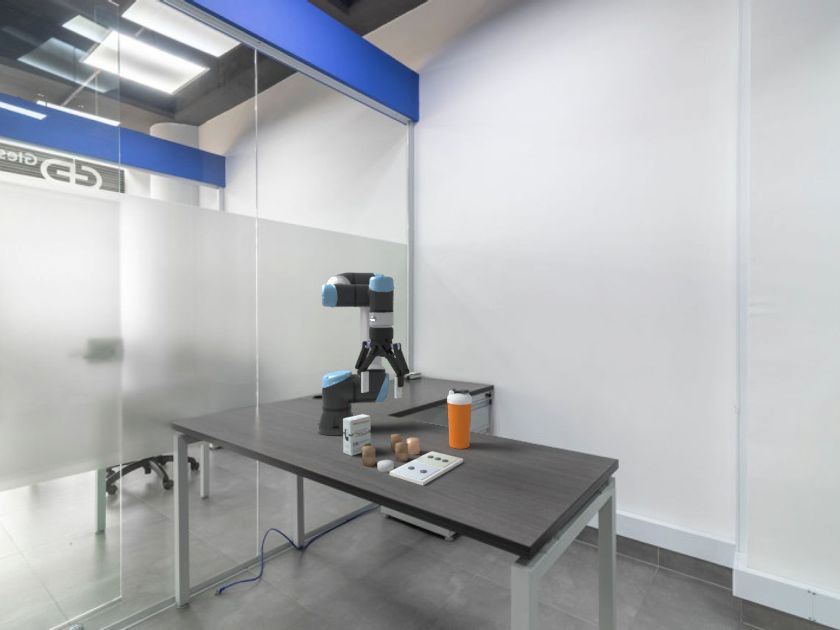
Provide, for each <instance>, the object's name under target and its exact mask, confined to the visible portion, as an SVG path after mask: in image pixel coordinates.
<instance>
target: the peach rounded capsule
mask: <svg viewBox="0 0 840 630" xmlns="http://www.w3.org/2000/svg"><path fill="white" fill-rule="evenodd" d="M420 442H421V440H420V438H418V437H415V436H414V437H408V438H406V443H407V444H408V455H409V454H410V455H411V456H416V455H419V454H420V449H421V448H420V446H421V445H420V444H421V443H420ZM410 455H409V456H410Z"/></svg>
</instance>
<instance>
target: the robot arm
mask: <svg viewBox="0 0 840 630" xmlns="http://www.w3.org/2000/svg"><path fill="white" fill-rule="evenodd" d="M394 282H395V281H394V278H393V277H391V276H385V275H384V274H383V273H381V272H380V273H377V272H352V271H351V272H350V271H348V272H347V271H346V272H342V273H339V274H336V275H333V276H332V277H331V278H329V280H328V281H327V283H324V284H322V286H321V305H322V306H323V307H326V308H359V309H360V310H359V314H360V315H359V316H360V319H359V320H360V321H359V323H360V324H359V325H360V326H359V327H360V329H359V330H360V352H359V355H358V358H357V360H356V362H355V365H354V369H355V370H356V373H353V372H352V370H338V371H337V370H336V371H332V372H328V373H326V374H324V375H323V377H322V380H321V381H322V382H321V414H320V417H319V418H320V419H319V421H318V423H317V430H316V431H317V433H318V434H321V435H325V436H343V419H344V418H348V417H352V416H354V413H353V410H352V404H372V403H373V404H376V403H383V402H385V401H386V400H387V398H388V395H389V394H388V393H389V391H390V390H389V389H390V374H389V373H387V372H386V368H385V367H384V366H383V363H382V358H385V359H386V360H387V362H388V363H389V365H390V367H391V368H392V369H393V372H394V373H395V376H394V399H400V398H402V397H403V387H404V386H405V384H404V383H405V376H406V375H409V374H410V373H411V371H410V369H409V367H408V364H407V362H406V358H405V355H404V353H403V350H402V344H401V342H394V343H393V339H394V334H395V333H394V327H392V326H394V323H395V322H394V319H395V318H394V314H395V313H394V297H395V296H394V294H395V293H394V291H395V286H394V285H395V283H394Z"/></svg>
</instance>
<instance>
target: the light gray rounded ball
mask: <svg viewBox="0 0 840 630" xmlns="http://www.w3.org/2000/svg"><path fill="white" fill-rule="evenodd" d="M394 462H395V461H393V460H392V459H382V460H379V461H377V463H376V464H377V471H378V472H380V473H390V471H392V470H394V469H395V463H394Z"/></svg>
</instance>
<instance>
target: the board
mask: <svg viewBox="0 0 840 630" xmlns="http://www.w3.org/2000/svg"><path fill="white" fill-rule="evenodd" d="M462 463H464V458H461V457H457V456H453V455H450V454H445V453H441V452H436V451H432V450H431V451H430V452H427V453H425V454H423V455H421V456H419V457H417V458H415V459H413V460H411V461H409V462H407V463H405V464H402V465H401V466H398V467H396V468H394V470H392V471H390V472H389V476H391V477H394V478H397V479H401V480H404V481H406V482H410V483H413V484H417V485H420V486H425V485H426V484H428V483H430V482H432V481H433V480H435V479H436V478H438V477H440V476H442V475H443V474H445V473H446V472H449V471H451V470H452V469H454V468H455V467H457V466H458V465H460V464H462Z"/></svg>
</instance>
